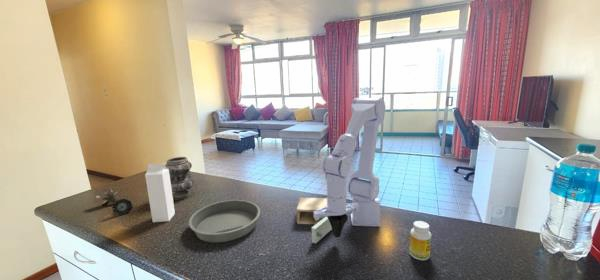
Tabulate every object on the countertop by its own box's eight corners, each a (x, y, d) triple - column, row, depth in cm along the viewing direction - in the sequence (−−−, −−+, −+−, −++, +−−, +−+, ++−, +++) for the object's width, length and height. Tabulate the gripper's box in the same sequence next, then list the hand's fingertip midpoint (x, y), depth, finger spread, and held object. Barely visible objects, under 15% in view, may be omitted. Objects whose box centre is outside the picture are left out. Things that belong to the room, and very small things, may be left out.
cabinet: (336, 211, 98) (336, 198, 97) (336, 225, 89) (336, 210, 88) (300, 210, 100) (300, 197, 99) (297, 223, 91) (296, 209, 90)
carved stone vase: (186, 188, 127) (182, 154, 124) (200, 193, 120) (196, 157, 117) (162, 197, 118) (157, 160, 114) (176, 203, 111) (170, 164, 107)
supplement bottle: (410, 247, 76) (412, 217, 74) (430, 252, 73) (433, 222, 71) (407, 257, 71) (409, 226, 69) (428, 263, 68) (431, 231, 66)
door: (332, 225, 88) (332, 210, 87) (338, 227, 87) (338, 212, 86) (311, 242, 79) (311, 226, 78) (318, 245, 77) (318, 229, 76)
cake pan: (173, 238, 84) (171, 226, 83) (220, 206, 107) (219, 196, 106) (235, 252, 76) (234, 239, 75) (272, 214, 98) (271, 203, 98)
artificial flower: (111, 222, 98) (97, 201, 95) (105, 210, 115) (93, 192, 112) (135, 209, 104) (123, 188, 101) (126, 199, 120) (115, 181, 117)
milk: (169, 221, 95) (160, 165, 91) (152, 222, 95) (143, 166, 90) (175, 213, 101) (167, 161, 97) (159, 214, 101) (151, 161, 96)
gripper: (350, 186, 81) (350, 224, 84) (309, 193, 77) (310, 233, 79) (363, 194, 75) (362, 235, 77) (318, 203, 70) (319, 246, 73)
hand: (336, 235), depth 78 cm, fingers closed
